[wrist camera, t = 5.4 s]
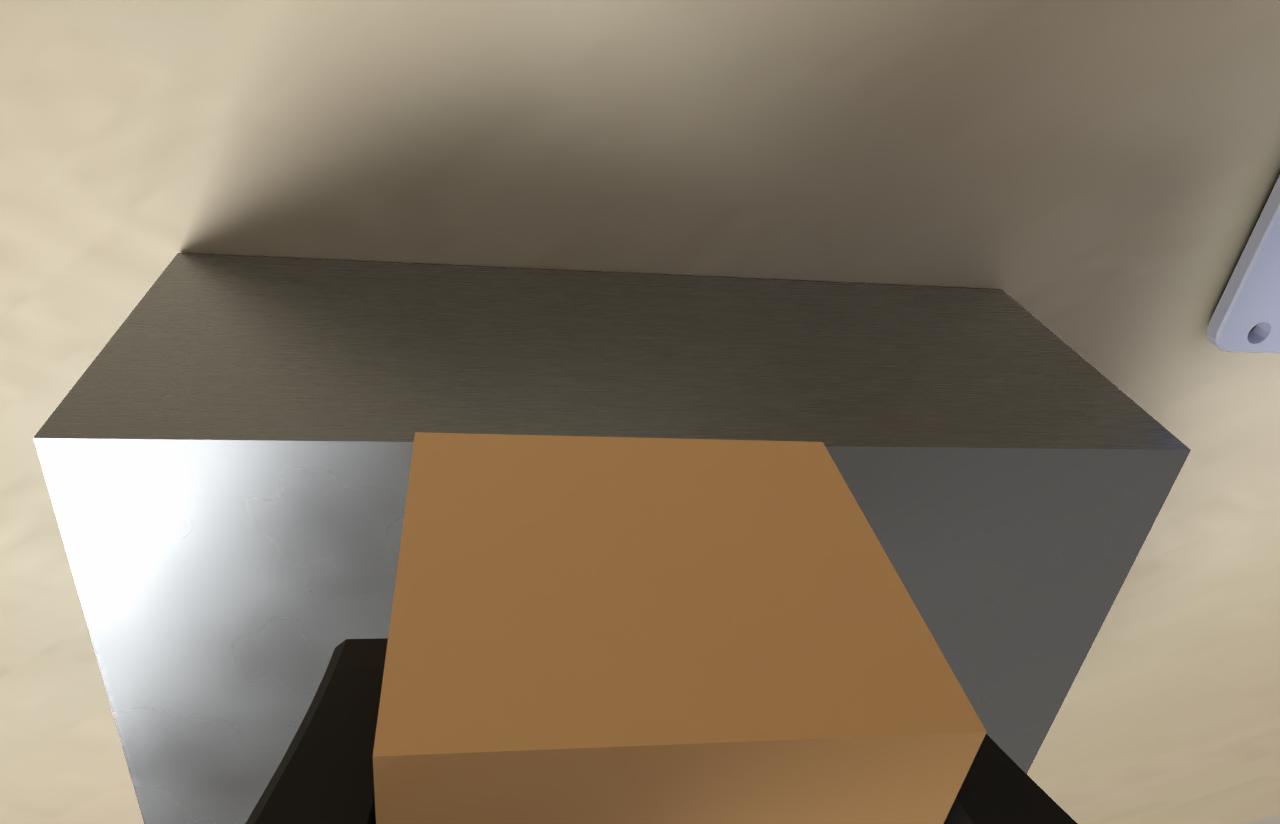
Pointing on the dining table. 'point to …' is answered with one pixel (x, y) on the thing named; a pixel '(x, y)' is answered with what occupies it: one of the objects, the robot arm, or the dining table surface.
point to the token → (655, 643)
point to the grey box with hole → (557, 406)
